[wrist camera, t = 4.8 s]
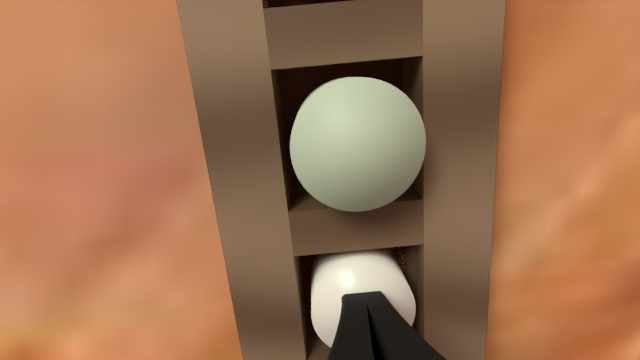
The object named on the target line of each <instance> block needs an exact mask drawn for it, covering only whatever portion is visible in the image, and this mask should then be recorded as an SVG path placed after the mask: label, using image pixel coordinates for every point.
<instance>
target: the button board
mask: <svg viewBox="0 0 640 360" xmlns="http://www.w3.org/2000/svg"><path fill="white" fill-rule="evenodd" d="M176 2H177V7H178V13H179V18H180V23H181V29H182V34H183V39H184V45H185V50H186V56H187V61H188V66H189V72H190V77H191V82H192V88H193V93H194V99H195V104H196V109H197V115H198V120H199V125H200V131H201V136H202V141H203V147H204V152H205V158H206V163H207V168H208V174H209V179H210V184H211V190H212V195H213V201H214V206H215V211H216V217H217V222H218V227H219V233H220V238H221V244H222V249H223V254H224V260H225V265H226V270H227V276H228V281H229V287H230V292H231V297H232V303H233V308H234V313H235V319H236V324H237V329H238V335H239V340H240V346H241V351H242V356H243V360H327V358H328V355H329V353H330V350H331V347H329V346H328V345H327V344H325V343H324V342H323V341H322V340H321V339H320V337H319V336H318V335H317V333H316V331H315V329H314V327H313V324H312V319H311V317H309V318H307V315H306V306H305V298H304V289H303V281H302V272H301V263H300V256H303V255H314V254H325V253H335V252H346V251H357V250H367V249H378V248H389V247H399V246H405V265H406V281H407V283H408V285H409V287H410V289H411V291H412V294H413V296H414V299H415V305H416V312H415V318H414V322H413V324H412V326H411V327H412V328H413V329H414V330H415V331H416V332H417V333H418V334H419V335H420V336H421V337H422V338H423V339H424V340H425V341H426V342H428V343H429V344H430V345H431V346H432V347H433V348H434V349H435V350H436V351H437V352H438V353H440V354H441V355H442V356H443V357H444V358H445V359H447V360H485V350H486V333H487V315H488V298H489V281H490V263H491V246H492V228H493V211H494V194H495V176H496V159H497V141H498V124H499V107H500V89H501V72H502V54H503V37H504V20H505V2H506V0H352V1H341V2H330V3H319V4H308V5H297V6H286V7H275V8H271V7H270V0H176ZM392 60H401V71H402V92H403V93H404V94H406V95H407V97H408V98H409V99H410V100H411V101H412V102H413V104H414V105H415V106H416V108H417V110H418V112H419V114H420V115H421V118H422V121H423V124H424V128H425V133H426V151H425V156H424V160H423V163H422V166H421V169H420V171H419V173H418V175H417V177H416V178H415V180H414V181H413V183H412V184H411V185H410V186H409V188H408V189H407V190H406V191H405V192H404V193H403V194H402V195H400V196H399V197H398V198H396V199H395V200H394V201H392V202H390V203H388V204H387V205H384V206H382V207H379V208H376V209H373V210H368V211H362V212H350V211H343V210H338V209H335V208H332V207H329V206H327V205H325V204H323V203H321V202H320V201H318V200H317V199H315V198H314V197H313V196H312V195H311V194H310V193H308V191H307V190H306V189H305V188H304V187H301V188H292V187H291V178H290V169H289V161H288V152H287V144H286V135H285V127H284V118H283V110H282V101H281V93H280V84H279V75H278V71H283V70H294V69H305V68H316V67H327V66H337V65H348V64H359V63H370V62H381V61H392Z"/></svg>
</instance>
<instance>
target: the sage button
mask: <svg viewBox="0 0 640 360" xmlns="http://www.w3.org/2000/svg"><path fill="white" fill-rule="evenodd" d="M425 151H426V133H425V128H424V124H423V121H422V118H421V115H420V114H419V112H418V110H417V108H416V106H415V105H414V104H413V102H412V101H411V100H410V99H409V98H408V97H407V95H406V94H404V93H403V92H402V91H401V90H399V89H398V88H396V87H395V86H393V85H391V84H389V83H387V82H385V81H382V80H378V79H374V78H368V77H342V78H336V79H333V80H330V81H328V82H325V83H323V84H322V85H320V86H318V87H317V88H316V89H315V90H313V91H312V92H311V93H310V94H309V95H308V96H307V97H306V99H305V100H304V102H303V103H302V105H301V107H300V108H299V110H298V113H297V116H296V119H295V122H294V125H293V128H292V132H291V137H290V156H291V161H292V165H293V168H294V171H295V173H296V175H297V178H298V179H299V181H300V182H301V184H302V186H303V187H304V188H305V189H306V190H307V191H308V193H310V194H311V195H312V196H313V197H314V198H315V199H317V200H318V201H320V202H321V203H323V204H325V205H327V206H329V207H332V208H335V209H338V210H343V211H350V212H362V211H368V210H373V209H376V208H379V207H382V206H384V205H387V204H388V203H390V202H392V201H394V200H395V199H396V198H398V197H399V196H400V195H402V194H403V193H404V192H405V191H406V190H407V189H408V188H409V186H410V185H411V184H412V183H413V181H414V180H415V178H416V177H417V175H418V173H419V171H420V169H421V166H422V163H423V160H424V156H425Z"/></svg>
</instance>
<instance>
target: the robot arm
mask: <svg viewBox="0 0 640 360" xmlns="http://www.w3.org/2000/svg"><path fill="white" fill-rule="evenodd" d="M341 300H342V307H341V314H340V319H339V324H338V327H337V331H336V335H335V338H334V341H333V344H332V347H331V350H330V353H329V355H328V358H327V360H447V359H445V358H444V357H443V356H442V355H441V354H440V353H438V352H437V351H436V350H435V349H434V348H433V347H432V346H431V345H430V344H429V343H428V342H426V341H425V340H424V339H423V338H422V337H421V336H420V335H419V334H418V333H417V332H416V331H415V330H414V329H413V328H412V327H411V326H410V324H409V323H408V322H407V321H406V320H405V319H404V318H403V317H402V316H401V315H400V314H399V312H398V311H397V310H396V309H395V308H394V306H393V305H392V304H391V303H390V302H389V300H388V299H387V298H386V296H385V295H384V294H383V293H382V292H381V291H373V292H362V293H352V294H344V295H343V296H342V297H341Z"/></svg>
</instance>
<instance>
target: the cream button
mask: <svg viewBox="0 0 640 360" xmlns="http://www.w3.org/2000/svg"><path fill="white" fill-rule="evenodd" d="M373 291H381V292H382V293H383V294H384V295H385V296H386V298H387V299H388V300H389V302H390V303H391V304H392V305H393V306H394V308H395V309H396V310H397V311H398V312H399V314H400V315H401V316H402V317H403V318H404V319H405V320H406V321H407V322H408V323H409V324H410V326H412V324H413V322H414V318H415V312H416V305H415V299H414V296H413V294H412V291H411V289H410V287H409V285H408V283H407V281H406V279H405V276H404V274H403V272H402V270H401V268H400V266H399V264H398V262H397V260H396V258H395V255H394V254H393V252H392V250H391V249H390V248H378V249H367V250H357V251H346V252H335V253H325V254H317V255H316V257H315V259H314V261H313V264H312V268H311V319H312V324H313V327H314V329H315V331H316V333H317V335H318V336H319V337H320V339H321V340H322V341H323V342H324V343H325V344H327V345H328V346H329V347H332V344H333V341H334V338H335V335H336V331H337V327H338V324H339V319H340V314H341V307H342V300H341V297H342V296H343V295H344V294H352V293H362V292H373Z"/></svg>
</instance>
